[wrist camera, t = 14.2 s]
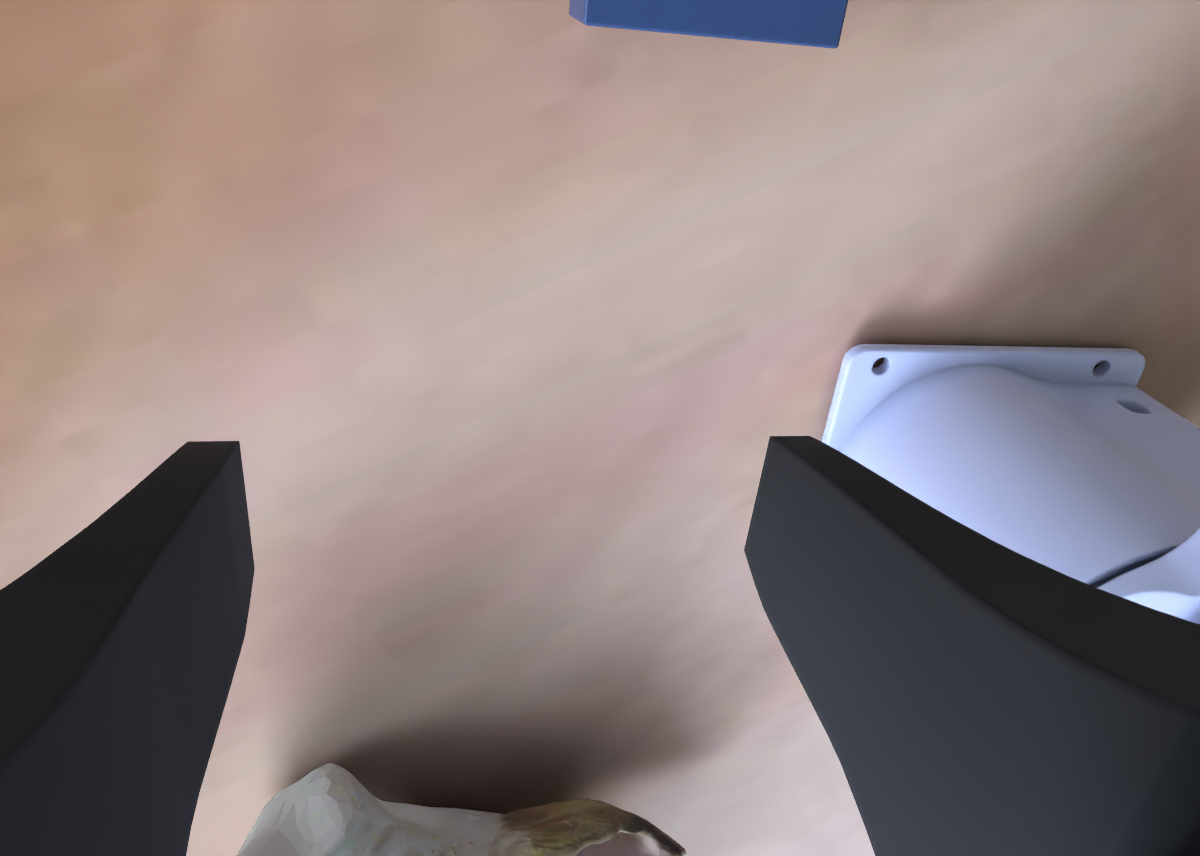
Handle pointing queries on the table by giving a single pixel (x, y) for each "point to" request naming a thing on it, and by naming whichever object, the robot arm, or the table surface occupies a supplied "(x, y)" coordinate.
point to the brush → (723, 18)
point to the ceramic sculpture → (439, 826)
